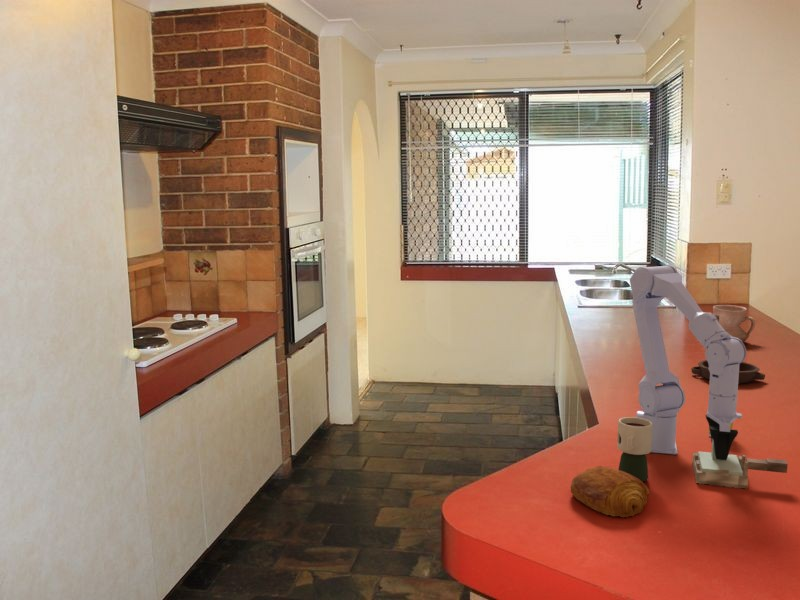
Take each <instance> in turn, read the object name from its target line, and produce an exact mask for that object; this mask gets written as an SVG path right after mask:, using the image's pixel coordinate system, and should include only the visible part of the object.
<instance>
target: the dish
mask: <svg viewBox="0 0 800 600" xmlns="http://www.w3.org/2000/svg"><path fill="white" fill-rule="evenodd" d="M697 364H698V366H692V367H691V368H690V369H691V374H693V375H697V376H701V377H703V378H705V379H706V380H708V381H710V371H709V364H708V361H707V360H706V359H704V360H701V361H699V362H698V363H697ZM759 371H760V368H759V367H758V366H757V365H755V364H752V363H749V362H745V361H743V362H742V363H740V364H739V378H738V385H740V384H745V383H750V382H751V381H757V380H759V381H764V380H765V379H766V378H765V377H766V374H764V373H763V372H759Z"/></svg>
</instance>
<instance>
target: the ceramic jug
mask: <svg viewBox="0 0 800 600" xmlns="http://www.w3.org/2000/svg"><path fill="white" fill-rule="evenodd" d="M712 309H713V310H712V311H713V312H710V313H711V314H712V315H715V317H716V318H717V319H716V320H717V321H718V323H719V324H720V325H721V326H722V327H723V329H724V330H725V331H726V332H728V334H729V335H731V336H732V337H735V338H739V339H740V340H742V342H743V343H744V342H746V341H747V340H748V339H749V337H750V334H751V333H752V332H753V331H754V329H755V327H756V326H755V325H756V320H755V318H754V317H753V316H749V315H748V316H747V315H746V314H747V310H748V309H747V307H744V306H739V305H731V304H717V305H713V306H712ZM745 321H750V323H751V325H750V328H749V329H748V331H747V332H746V331H745V330H744V329H743V328H742V327H741V324H742V323H744V322H745Z"/></svg>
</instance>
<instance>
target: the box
mask: <svg viewBox="0 0 800 600" xmlns="http://www.w3.org/2000/svg"><path fill="white" fill-rule="evenodd" d="M711 452H712V449H711V450H710V453H711ZM737 458H738V461H739V463H740V466H741V469H742V472H743V476H736V475H729V470H722V469H716V473H707V472H702V471H701V466H700V462H699V457H698V452H693V453H692V461H691V462H692V464H691V465H692V469H693V474H695V475H694V479H696V480H695V484H696V483H699V484H698V485H704V484H709V485H708V486H713V485H717V486H716V487H723V486H725V488H732V487H734V488H733V489H741V488H745V489H744V490H748V486H749V476H748V474H749V473H748V471H749V469H748V462H747V461H746V458H747V457H746V454H741V455H738V457H737Z"/></svg>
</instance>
